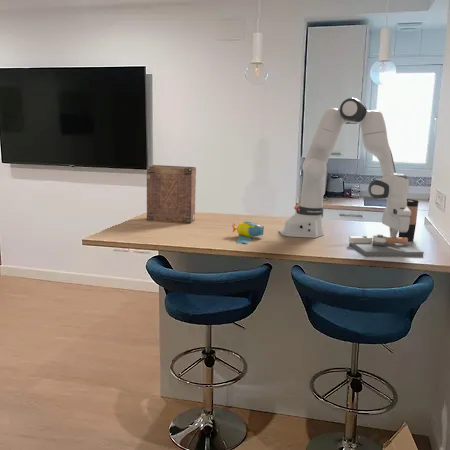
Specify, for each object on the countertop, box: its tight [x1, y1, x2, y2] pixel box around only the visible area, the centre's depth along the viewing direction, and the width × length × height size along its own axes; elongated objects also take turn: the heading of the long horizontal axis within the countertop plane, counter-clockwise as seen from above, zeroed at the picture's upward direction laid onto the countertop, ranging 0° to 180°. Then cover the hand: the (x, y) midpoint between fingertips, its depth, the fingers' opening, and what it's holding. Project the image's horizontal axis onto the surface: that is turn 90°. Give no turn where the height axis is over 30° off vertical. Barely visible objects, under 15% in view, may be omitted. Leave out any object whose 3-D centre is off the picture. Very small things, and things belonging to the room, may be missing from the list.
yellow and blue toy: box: [232, 220, 265, 245], centre depth 232 cm, size 28×9×15 cm
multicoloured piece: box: [372, 234, 409, 246], centre depth 218 cm, size 16×6×4 cm, turn 96°
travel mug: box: [398, 198, 419, 243], centre depth 236 cm, size 8×8×20 cm
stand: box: [348, 235, 424, 258], centre depth 216 cm, size 27×20×5 cm
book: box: [146, 164, 197, 224], centre depth 263 cm, size 25×9×30 cm, turn 79°
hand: (393, 237), depth 224 cm, fingers closed
